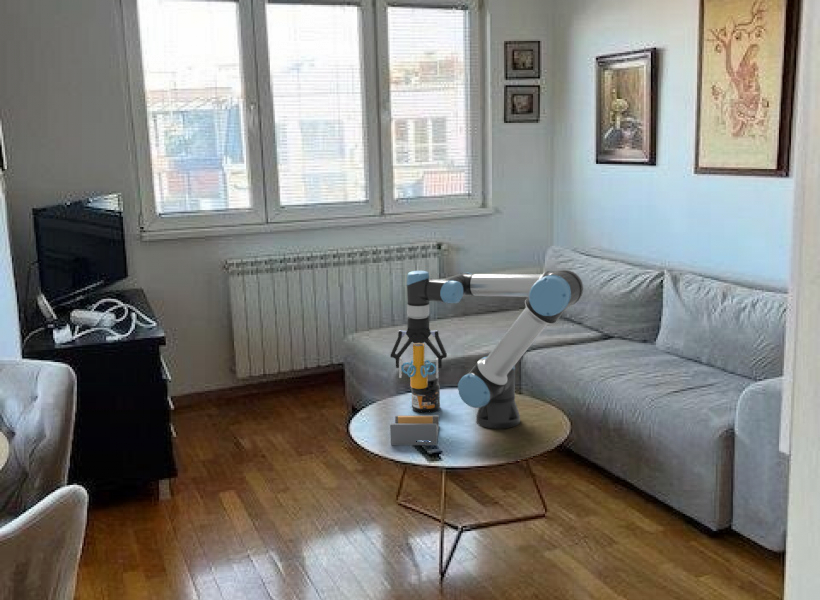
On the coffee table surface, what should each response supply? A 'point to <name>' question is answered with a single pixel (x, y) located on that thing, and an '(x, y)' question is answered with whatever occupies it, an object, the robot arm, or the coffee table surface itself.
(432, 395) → the supplement container
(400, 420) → the bar
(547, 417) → the coffee table surface
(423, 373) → the cylinder
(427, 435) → the frame
